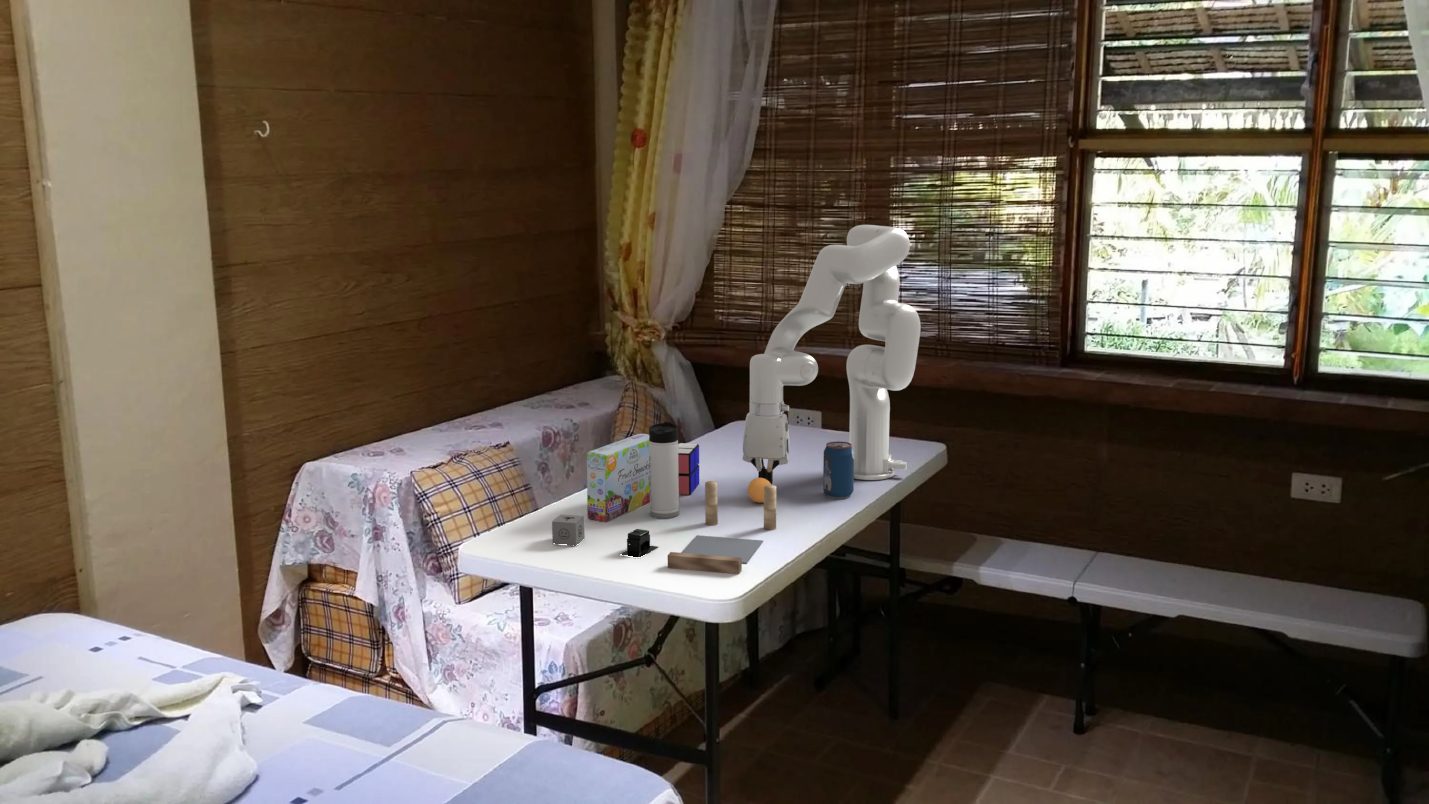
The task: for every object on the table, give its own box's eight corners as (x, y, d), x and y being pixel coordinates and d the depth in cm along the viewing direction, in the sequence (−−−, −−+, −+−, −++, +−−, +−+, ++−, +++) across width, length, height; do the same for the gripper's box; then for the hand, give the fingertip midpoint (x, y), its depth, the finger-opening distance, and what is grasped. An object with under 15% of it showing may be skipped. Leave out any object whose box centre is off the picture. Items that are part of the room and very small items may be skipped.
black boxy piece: (639, 542, 253) (638, 521, 252) (670, 547, 250) (670, 526, 249) (607, 560, 242) (606, 538, 241) (639, 566, 239) (639, 543, 238)
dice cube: (584, 539, 253) (583, 515, 252) (576, 546, 249) (575, 523, 248) (561, 537, 255) (560, 514, 254) (552, 545, 250) (551, 521, 249)
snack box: (608, 523, 264) (606, 454, 261) (586, 519, 267) (584, 451, 264) (660, 498, 282) (659, 434, 279) (639, 495, 285) (638, 431, 282)
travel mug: (683, 511, 272) (682, 422, 268) (672, 519, 266) (671, 429, 262) (657, 508, 274) (655, 420, 270) (645, 517, 268) (644, 427, 264)
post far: (719, 522, 264) (718, 481, 262) (715, 525, 262) (715, 484, 260) (707, 521, 265) (707, 480, 263) (704, 524, 262) (703, 483, 260)
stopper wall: (741, 570, 234) (741, 557, 234) (739, 573, 232) (739, 561, 232) (670, 564, 238) (670, 551, 237) (667, 567, 236) (667, 555, 235)
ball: (775, 499, 280) (775, 475, 279) (769, 506, 275) (769, 482, 274) (750, 498, 282) (750, 474, 281) (745, 504, 276) (745, 480, 275)
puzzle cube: (690, 496, 284) (690, 453, 282) (648, 494, 286) (647, 451, 284) (699, 484, 294) (699, 443, 292) (658, 482, 296) (658, 441, 294)
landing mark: (763, 541, 251) (763, 540, 251) (746, 563, 238) (746, 562, 238) (696, 536, 255) (696, 535, 255) (676, 557, 242) (676, 556, 241)
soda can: (857, 493, 285) (858, 442, 283) (847, 500, 279) (848, 449, 277) (829, 489, 288) (829, 439, 286) (818, 497, 282) (819, 446, 280)
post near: (777, 526, 261) (777, 485, 259) (774, 530, 258) (774, 488, 256) (765, 525, 261) (765, 484, 259) (762, 529, 259) (762, 487, 257)
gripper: (802, 407, 282) (800, 485, 286) (738, 403, 286) (738, 480, 290) (794, 414, 275) (793, 494, 278) (729, 410, 279) (729, 489, 283)
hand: (765, 487), depth 284 cm, fingers closed
